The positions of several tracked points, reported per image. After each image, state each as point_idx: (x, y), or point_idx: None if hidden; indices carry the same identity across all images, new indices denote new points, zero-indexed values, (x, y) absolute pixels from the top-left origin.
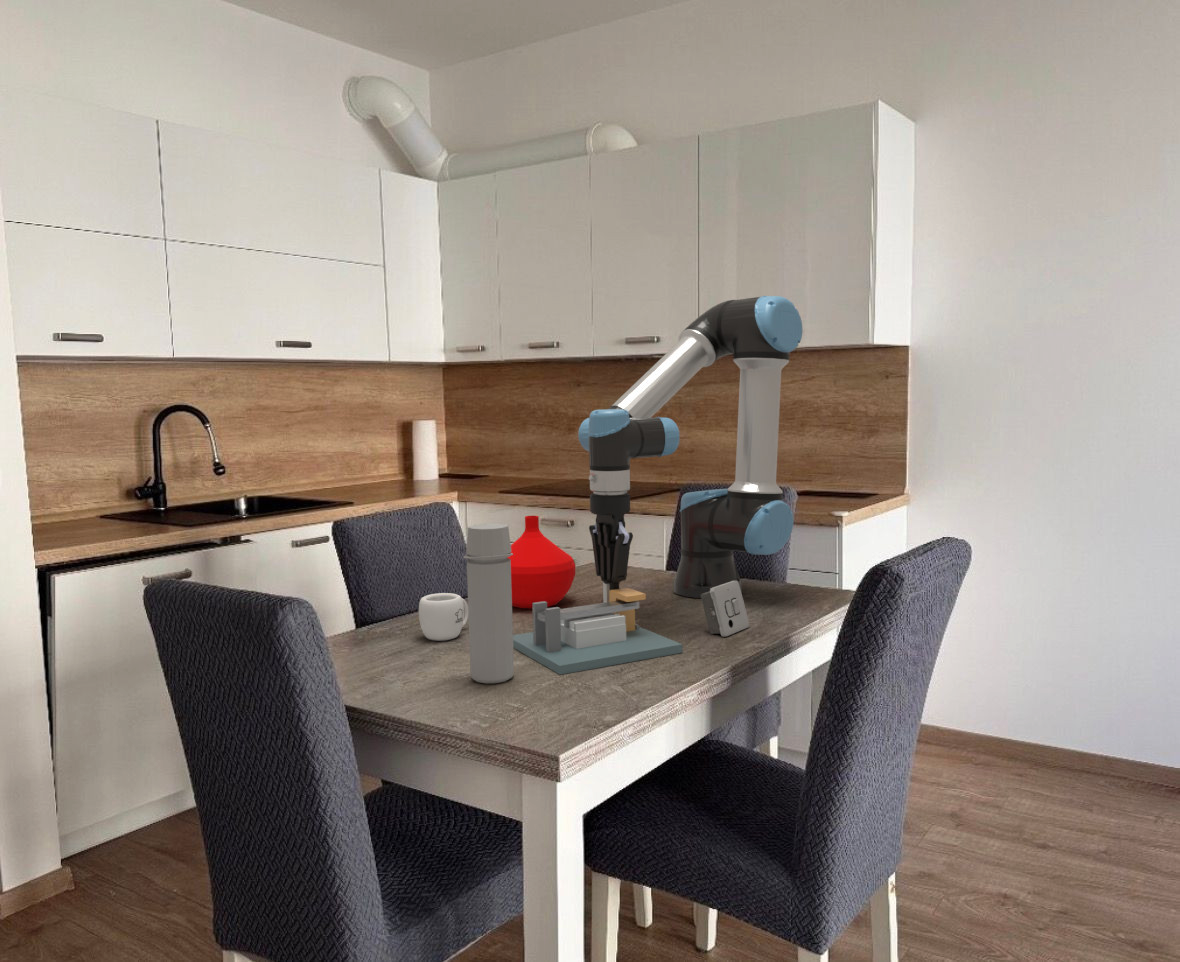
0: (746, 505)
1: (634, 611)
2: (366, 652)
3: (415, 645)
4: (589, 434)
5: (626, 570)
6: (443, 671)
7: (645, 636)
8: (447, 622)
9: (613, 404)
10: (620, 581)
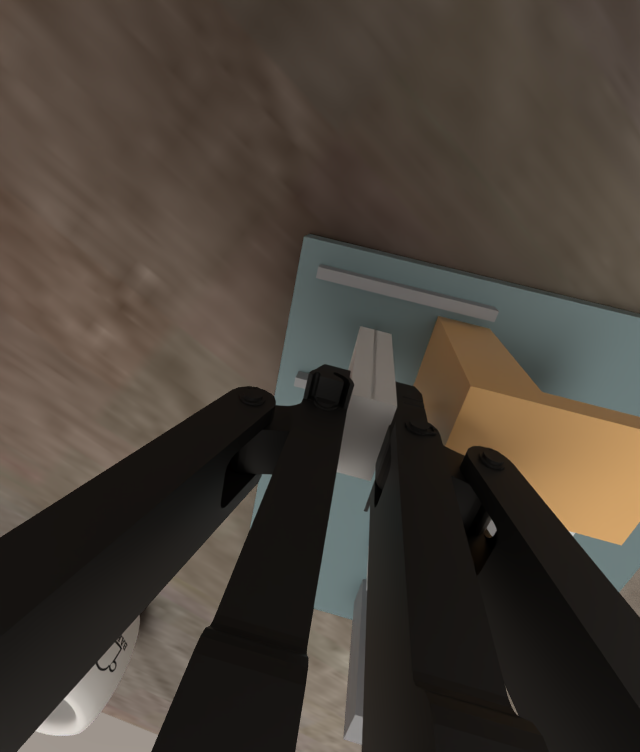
0: None
1: (511, 356)
2: (133, 702)
3: (137, 651)
4: None
5: (551, 518)
6: (328, 716)
7: (589, 369)
8: (127, 664)
9: None
10: (454, 452)
